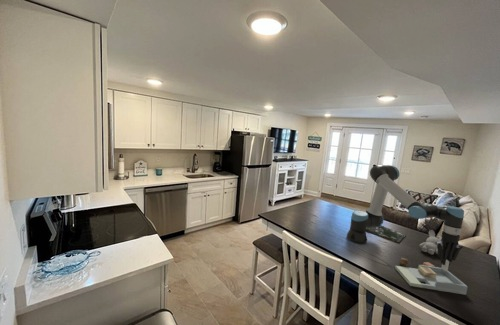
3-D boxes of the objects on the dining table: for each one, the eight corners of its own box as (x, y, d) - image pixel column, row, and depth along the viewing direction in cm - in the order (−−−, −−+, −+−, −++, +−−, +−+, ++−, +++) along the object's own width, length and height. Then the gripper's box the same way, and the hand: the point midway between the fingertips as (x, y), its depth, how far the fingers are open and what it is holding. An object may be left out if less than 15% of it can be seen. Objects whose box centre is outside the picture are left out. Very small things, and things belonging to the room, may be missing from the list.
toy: (437, 261, 147) (446, 245, 165) (439, 249, 146) (448, 235, 163) (416, 253, 157) (428, 239, 174) (418, 242, 155) (429, 229, 172)
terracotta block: (428, 271, 130) (429, 266, 130) (422, 268, 134) (423, 262, 134) (433, 271, 131) (434, 265, 131) (427, 267, 135) (428, 262, 135)
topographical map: (398, 244, 166) (399, 240, 166) (357, 228, 191) (357, 225, 190) (406, 235, 183) (407, 232, 183) (367, 222, 208) (368, 219, 207)
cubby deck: (410, 285, 116) (411, 277, 115) (395, 268, 132) (396, 261, 131) (465, 294, 112) (467, 286, 111) (443, 275, 127) (444, 268, 127)
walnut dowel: (401, 267, 133) (402, 260, 132) (398, 264, 137) (399, 257, 136) (408, 268, 132) (409, 261, 132) (404, 265, 136) (406, 258, 136)
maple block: (424, 276, 122) (425, 272, 121) (418, 270, 128) (418, 266, 127) (435, 278, 121) (436, 274, 120) (428, 272, 127) (429, 267, 126)
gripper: (443, 234, 117) (436, 271, 119) (469, 237, 115) (462, 275, 117) (434, 228, 124) (427, 264, 127) (458, 231, 122) (451, 267, 125)
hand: (444, 269), depth 122 cm, fingers closed
